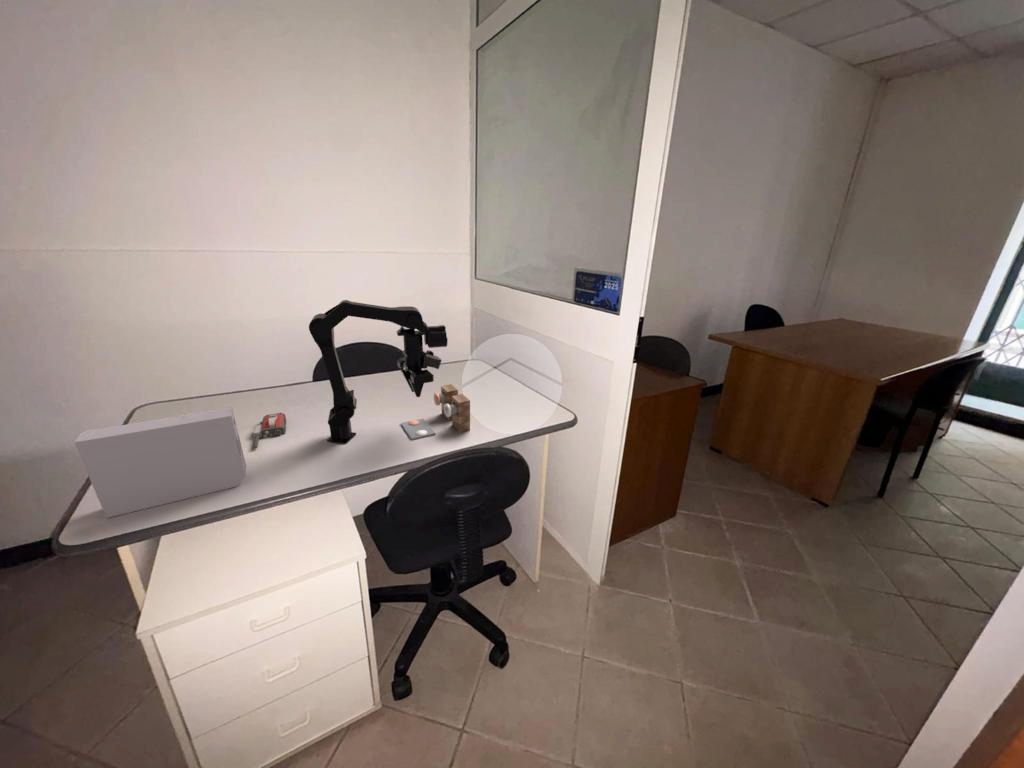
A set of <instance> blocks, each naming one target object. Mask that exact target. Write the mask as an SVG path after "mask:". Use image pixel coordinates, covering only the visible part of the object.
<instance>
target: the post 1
mask: <svg viewBox="0 0 1024 768" xmlns="http://www.w3.org/2000/svg"><path fill="white" fill-rule="evenodd" d="M443 393H445V394H446V402H444V403H440V405H441V414H442V416H443V417H445V419H446V420H447V421H450V420H451V421H452V415H451V416H450V417H447V416H446V415H445V412H444V405H445V404H449V405H452V396H455V395H459V389H458V388H457V387H456V386H454V385H453V384H452V383H450V384H445V385H440V394H443Z"/></svg>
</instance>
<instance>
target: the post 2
mask: <svg viewBox="0 0 1024 768" xmlns="http://www.w3.org/2000/svg"><path fill="white" fill-rule="evenodd" d="M453 404H456V405H457V406H458V413H456V414H452V419H451V422H452V424H451V425H452V426H453V428H454V429H455V430H456V431H457V432H458V433H463V432H467V431H471V400H470V399H469V398H468V397H467V396H466V395H464V393H461V394H458V395H455V396H452V405H453Z"/></svg>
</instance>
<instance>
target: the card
mask: <svg viewBox="0 0 1024 768" xmlns="http://www.w3.org/2000/svg"><path fill="white" fill-rule="evenodd" d="M400 426H402V428H403V430H404V431H405V432H406V434H407V436H408V437H409V438H410V440H411V441H414V440H418V439H419V440H420V439H422V438H427V437H431V436H436V432H435V431H434V430H433V429H432V427H431V426H430V424H429V423H427V421H426V420H425V419H424V418H418V419H411V420H408V421H404V422H401V423H400Z"/></svg>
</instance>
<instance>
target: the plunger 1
mask: <svg viewBox="0 0 1024 768" xmlns="http://www.w3.org/2000/svg"><path fill="white" fill-rule="evenodd" d="M433 402H434V404H435V406H440V405H441V403H444V402H446V394H445V393H443V394H441V393H440V394H439V393H438V392H435V393H433Z"/></svg>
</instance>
